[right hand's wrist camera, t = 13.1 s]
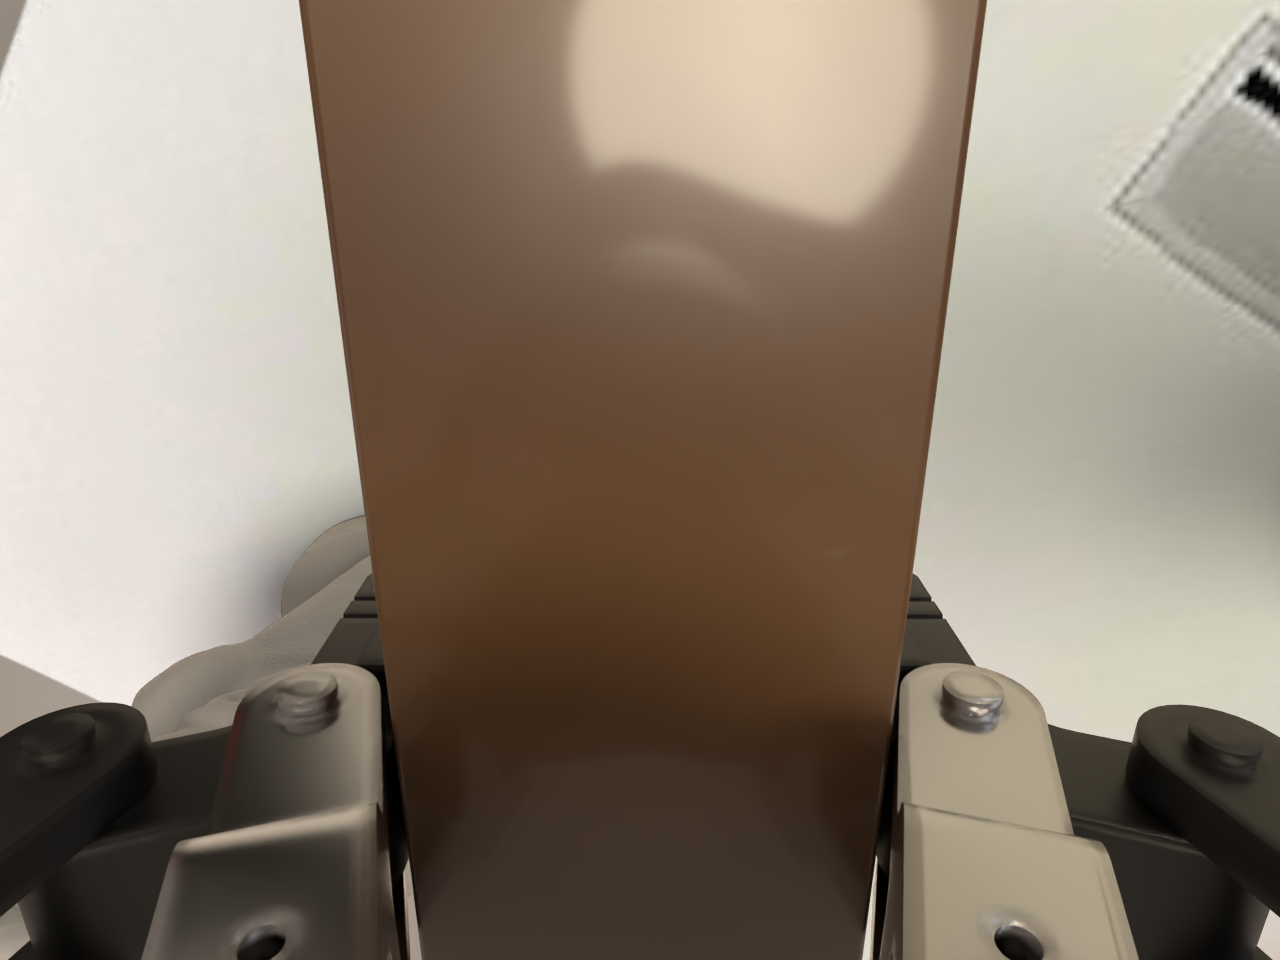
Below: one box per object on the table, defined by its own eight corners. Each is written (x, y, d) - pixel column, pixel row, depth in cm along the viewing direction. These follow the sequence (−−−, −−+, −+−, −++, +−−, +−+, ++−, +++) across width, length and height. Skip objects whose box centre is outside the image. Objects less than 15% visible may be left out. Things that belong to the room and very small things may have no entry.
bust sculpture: (659, 531, 56) (692, 1075, 23) (405, 729, 61) (142, 1391, 29) (487, 348, 51) (223, 701, 18) (230, 580, 57) (-318, 1163, 24)
